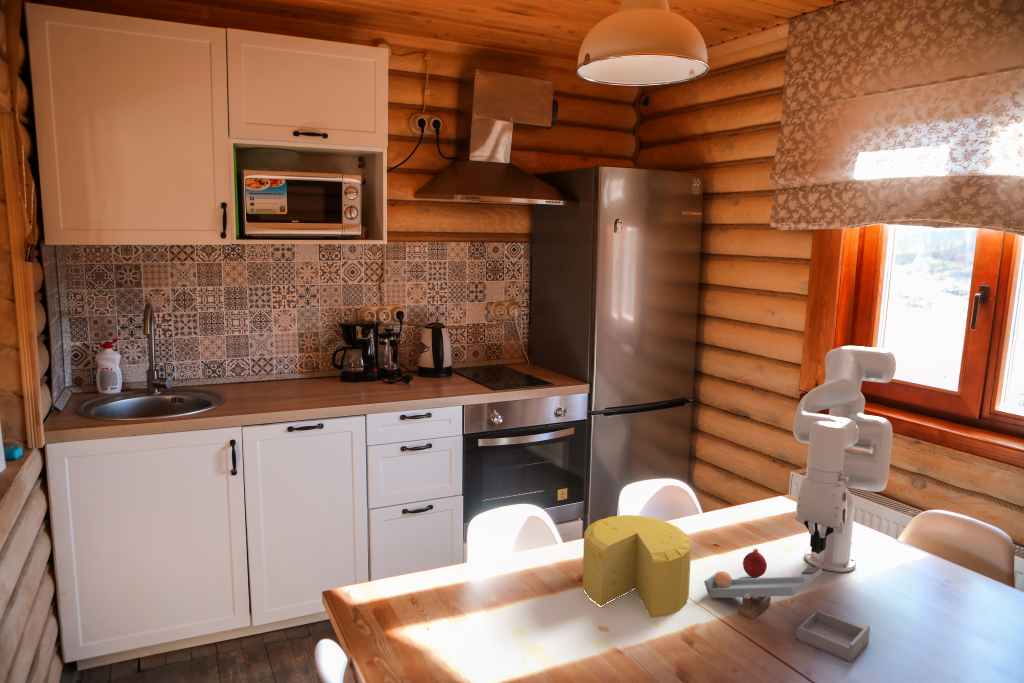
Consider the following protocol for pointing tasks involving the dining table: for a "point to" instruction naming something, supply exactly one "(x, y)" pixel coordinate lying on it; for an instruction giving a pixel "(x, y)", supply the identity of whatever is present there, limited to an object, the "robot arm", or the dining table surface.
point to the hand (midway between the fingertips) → (817, 551)
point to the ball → (723, 579)
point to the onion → (754, 564)
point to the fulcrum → (753, 606)
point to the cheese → (637, 562)
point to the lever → (763, 585)
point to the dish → (833, 635)
